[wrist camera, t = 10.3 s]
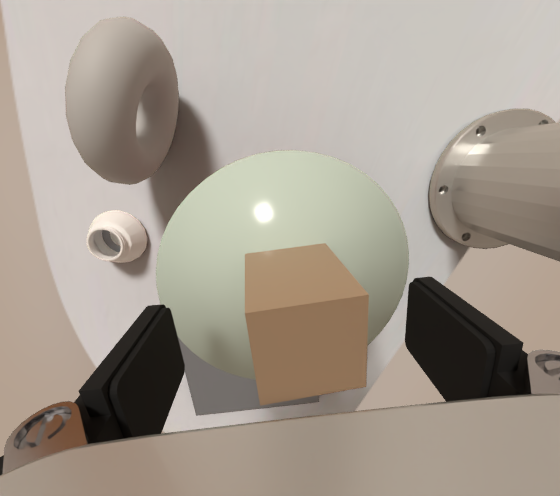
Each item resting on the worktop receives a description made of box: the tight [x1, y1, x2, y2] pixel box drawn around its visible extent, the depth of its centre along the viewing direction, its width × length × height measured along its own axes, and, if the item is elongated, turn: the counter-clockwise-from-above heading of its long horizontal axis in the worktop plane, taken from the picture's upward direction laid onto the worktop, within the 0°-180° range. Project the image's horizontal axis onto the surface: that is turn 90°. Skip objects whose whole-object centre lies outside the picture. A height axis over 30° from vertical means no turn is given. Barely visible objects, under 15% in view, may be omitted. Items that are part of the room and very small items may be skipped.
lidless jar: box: [86, 210, 147, 263], centre depth 24 cm, size 5×3×5 cm
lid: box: [156, 150, 409, 406], centre depth 12 cm, size 13×13×6 cm
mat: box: [178, 337, 319, 416], centre depth 31 cm, size 15×15×1 cm
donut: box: [65, 17, 179, 185], centre depth 18 cm, size 10×4×10 cm, turn 162°
